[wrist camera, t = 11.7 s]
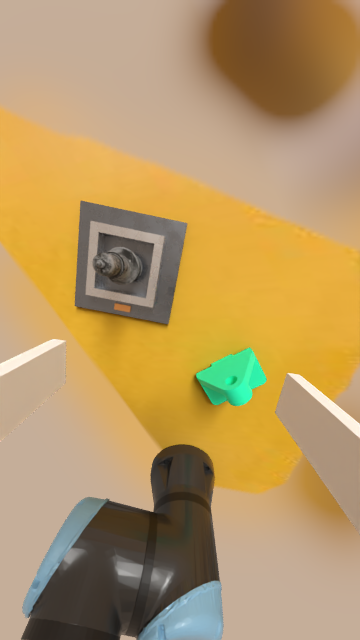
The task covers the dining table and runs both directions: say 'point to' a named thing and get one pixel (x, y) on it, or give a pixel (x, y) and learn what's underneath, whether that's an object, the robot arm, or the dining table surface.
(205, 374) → the camera mount
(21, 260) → the dining table surface
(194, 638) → the robot arm
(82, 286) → the plate
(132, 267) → the gray metallic stepped cylinder
